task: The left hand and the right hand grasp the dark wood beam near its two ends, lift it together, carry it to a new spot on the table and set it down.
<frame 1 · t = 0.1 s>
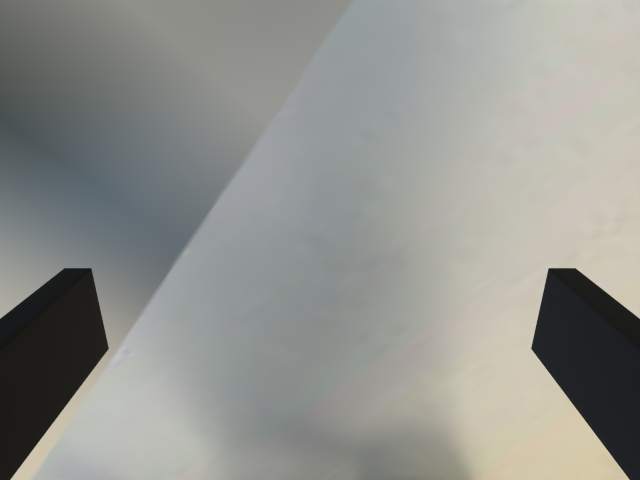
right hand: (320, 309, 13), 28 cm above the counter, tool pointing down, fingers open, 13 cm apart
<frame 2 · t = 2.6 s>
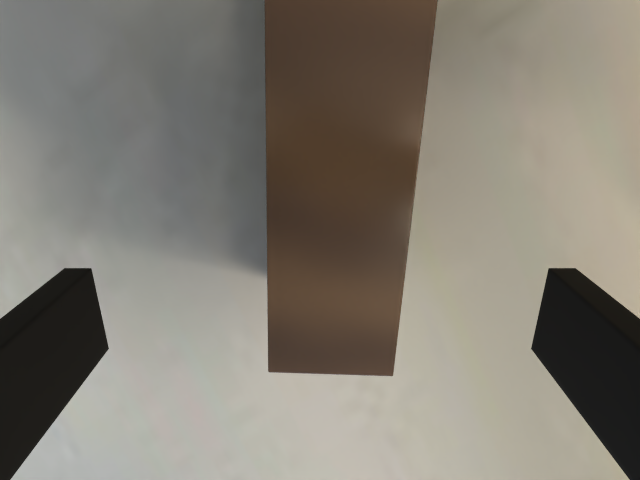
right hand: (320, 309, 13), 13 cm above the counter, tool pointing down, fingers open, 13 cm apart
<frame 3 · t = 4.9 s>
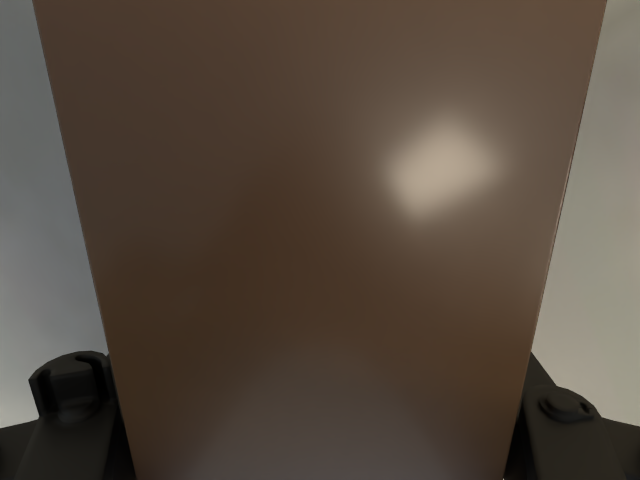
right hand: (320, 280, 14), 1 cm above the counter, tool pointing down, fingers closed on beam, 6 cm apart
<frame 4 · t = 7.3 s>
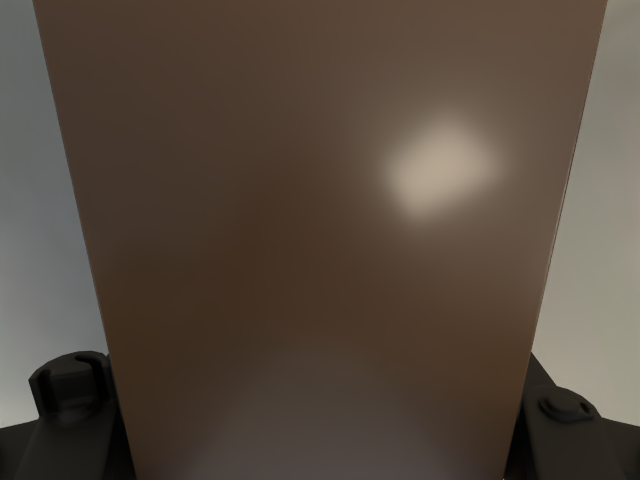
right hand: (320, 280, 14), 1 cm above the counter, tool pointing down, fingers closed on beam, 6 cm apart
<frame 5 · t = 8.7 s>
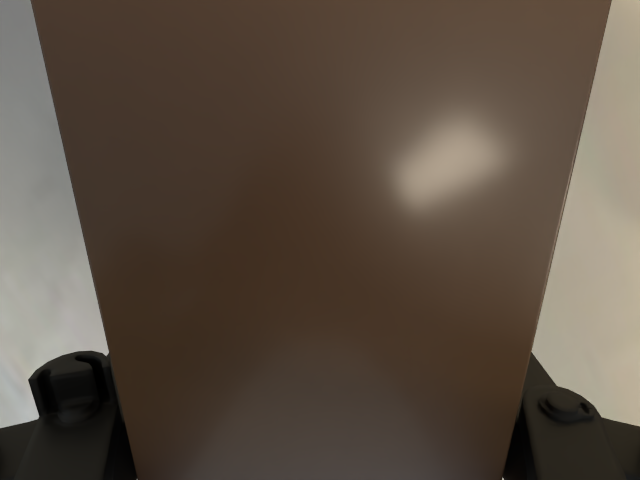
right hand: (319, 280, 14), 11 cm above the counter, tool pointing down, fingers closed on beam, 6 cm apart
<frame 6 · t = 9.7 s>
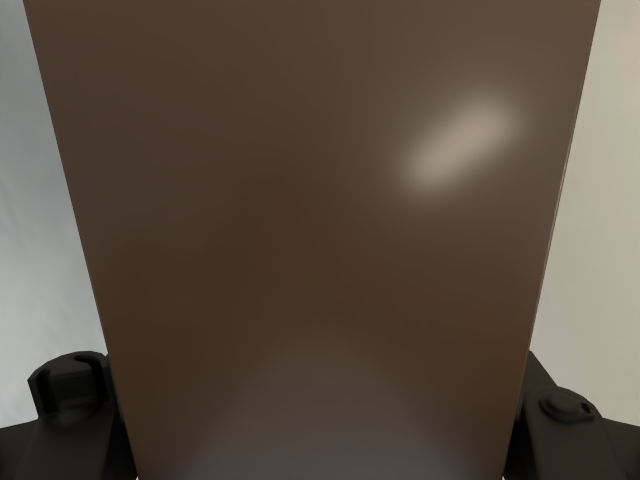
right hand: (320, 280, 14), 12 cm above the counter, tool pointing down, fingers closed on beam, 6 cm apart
when the left hand's fingers open (2 cm above the counter, at t = 12.3 s): beam drops 1 cm, on the counter.
when the right hand's fingers open (2 cm above the counter, at t = 12.4 s): beam drops 1 cm, on the counter.
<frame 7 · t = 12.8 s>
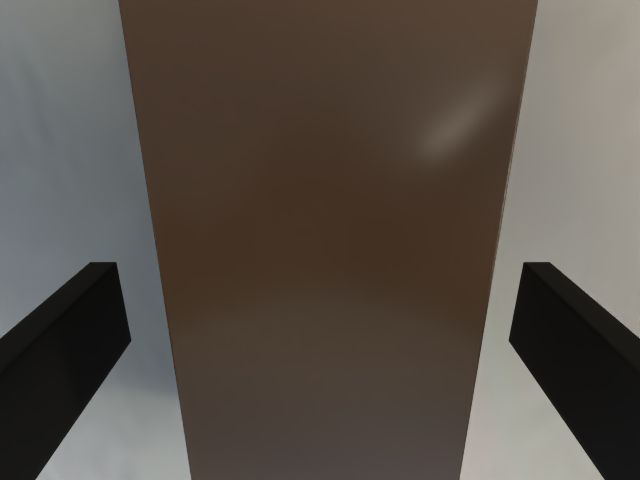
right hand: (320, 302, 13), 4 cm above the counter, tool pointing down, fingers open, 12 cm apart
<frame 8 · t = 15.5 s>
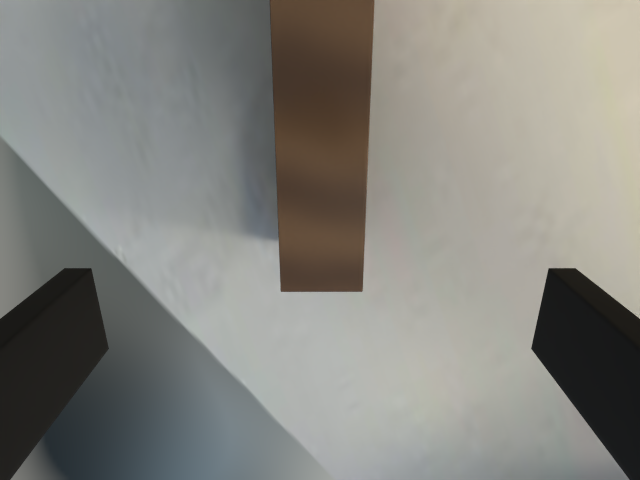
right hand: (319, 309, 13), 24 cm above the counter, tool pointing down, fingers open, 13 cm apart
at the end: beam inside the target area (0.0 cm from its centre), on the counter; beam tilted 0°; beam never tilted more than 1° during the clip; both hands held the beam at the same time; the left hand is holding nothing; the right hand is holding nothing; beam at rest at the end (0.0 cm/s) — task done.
